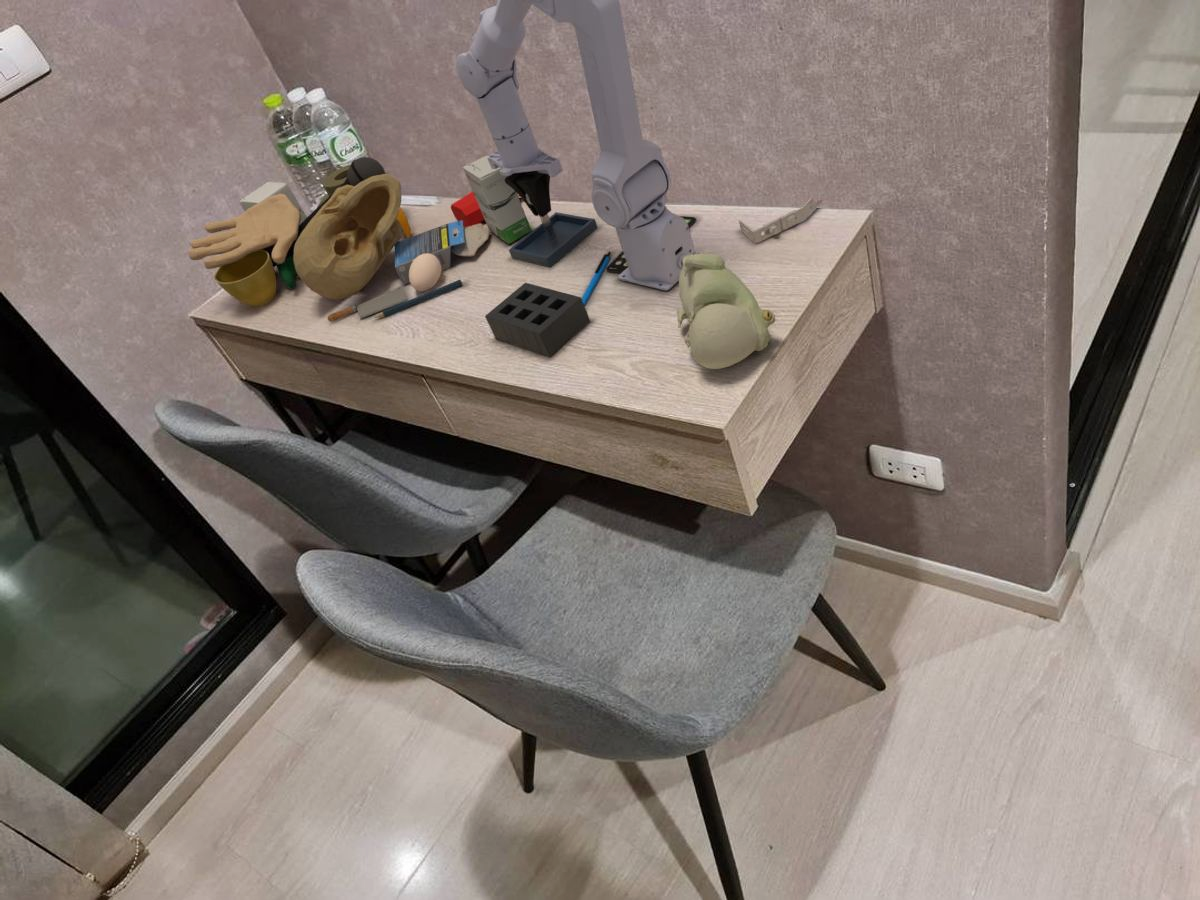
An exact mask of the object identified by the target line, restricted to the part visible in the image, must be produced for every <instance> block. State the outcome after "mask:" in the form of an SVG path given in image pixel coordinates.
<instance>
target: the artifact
mask: <svg viewBox="0 0 1200 900" xmlns="http://www.w3.org/2000/svg"><path fill="white" fill-rule="evenodd" d="M463 229H464V240H465V243H461V244H457V245H453V246H451V248H450V250H451V251H452V253H453V254H454V255H456V256H459V257H474V256H475V255H476V253H477V251H478V250H479V248H480V247H481V246H483V245H484V244H485V242H487V240H488V239H489V236H490V230H489V228H488V227H484V224H483V223H478V224H475V225H473V226H470V227H463ZM457 233H458V232H455V233H453V236H454V237H456V236H457Z"/></svg>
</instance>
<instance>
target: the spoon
mask: <svg viewBox="0 0 1200 900" xmlns="http://www.w3.org/2000/svg"><path fill="white" fill-rule="evenodd" d="M526 200H527V202H528V203H529V204H531V205H533V204H532V202H531V200H530V198H529V196H528V195H527V194H526ZM549 217H550V216H549V213H548V214H546V215H545V216H544V217H540V216H539V219H540V221H541V224H543V227H544V229H545V232H546V234H547V237H548V239H549V241H553V240H554V239H555V238H557V237H556V234H555V232H554V229H553V226H552V224H551V221H550V219H549Z"/></svg>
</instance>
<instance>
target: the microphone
mask: <svg viewBox="0 0 1200 900" xmlns="http://www.w3.org/2000/svg"><path fill="white" fill-rule="evenodd" d="M350 164H351V165H350ZM350 164H349V165H350V167H349V169H348V177H347V178H346V180H345V182H344V183H343V184H342V185H341V186H340V187H342V186H345V185H351V186H356V185H357V184H359V183H360V182H362V181H364V180H366V179H368V178H370V177H372V176H376V175H382V174H385V173H386V171H385V169H384V167H383V165H382V164H381V163H380V162H379V161H378V160H376V159H375V158H372V157H369V156H362V157H359V158H356V159H353V160H352V161H351V162H350ZM333 193H334V192H333ZM333 193H332V194H331V195H330V196H329V197H328V198H327V199H326V200H325V201H324V202H323V203H322V204H321V205H320V206H319V207H318V208H317V209H315V210H314V211H313V212H312V213H311V212H310V214H309V215H308V216H307V218H306V219H305V220H304V221H303V222H302V223H301V224H300V225H299V228H298V236H300V234H301V233H302V231H303V230H304V229H305V227H306V226H307V225H308V223H309V222H310V221H311V219H312V218H313V217H314V216H315V215H316V214H317V212H318V211H319V210H320V209H321V208H322V206H323V205H324V204H325V203H326V202H327V201H328V200H329V199H330V198H331V196H332V195H333Z"/></svg>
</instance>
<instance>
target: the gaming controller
mask: <svg viewBox="0 0 1200 900" xmlns="http://www.w3.org/2000/svg"><path fill="white" fill-rule="evenodd" d="M293 258H294V254H293V255H292V256H290V257H289V258H287V259H286V260H285V261H284V262H283V263H277V266H276V268H277V272H278V276H279V277H280V278H279V279H281V281H282V282H283V284H284V285H285V286H286V287H287V288H288V289H294V288H295V287H296V286H297V284H296V278H300V277H299V276H298V274H297V272H296V269H295V265H294V260H293Z"/></svg>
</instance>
